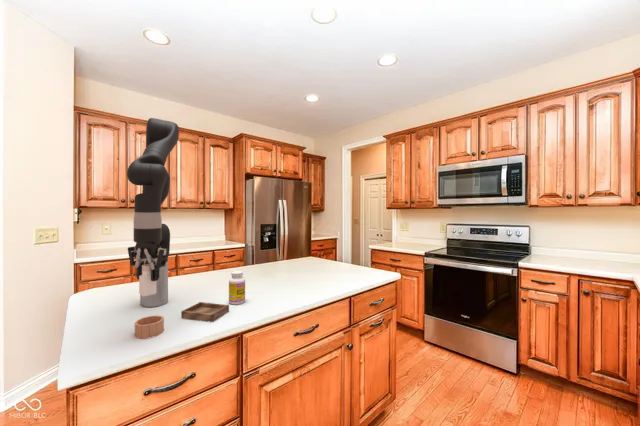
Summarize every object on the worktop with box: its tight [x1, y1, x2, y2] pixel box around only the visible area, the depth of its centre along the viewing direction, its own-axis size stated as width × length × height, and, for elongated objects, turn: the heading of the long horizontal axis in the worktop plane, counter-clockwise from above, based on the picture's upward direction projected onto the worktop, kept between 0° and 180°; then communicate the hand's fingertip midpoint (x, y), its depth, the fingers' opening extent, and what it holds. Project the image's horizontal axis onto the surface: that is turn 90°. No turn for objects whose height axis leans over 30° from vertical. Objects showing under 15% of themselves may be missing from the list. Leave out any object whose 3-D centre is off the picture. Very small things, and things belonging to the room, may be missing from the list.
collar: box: [134, 314, 165, 340], centre depth 86 cm, size 8×8×4 cm
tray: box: [180, 301, 230, 323], centre depth 101 cm, size 13×10×2 cm
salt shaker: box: [138, 264, 156, 296], centre depth 86 cm, size 4×4×10 cm
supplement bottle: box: [228, 270, 246, 305], centre depth 114 cm, size 7×7×13 cm
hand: (147, 279), depth 86 cm, fingers closed on salt shaker, 5 cm apart
